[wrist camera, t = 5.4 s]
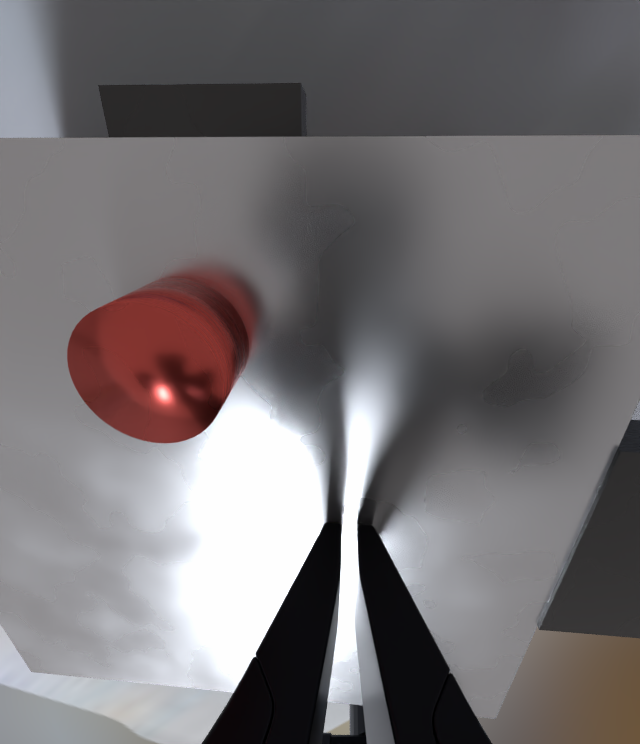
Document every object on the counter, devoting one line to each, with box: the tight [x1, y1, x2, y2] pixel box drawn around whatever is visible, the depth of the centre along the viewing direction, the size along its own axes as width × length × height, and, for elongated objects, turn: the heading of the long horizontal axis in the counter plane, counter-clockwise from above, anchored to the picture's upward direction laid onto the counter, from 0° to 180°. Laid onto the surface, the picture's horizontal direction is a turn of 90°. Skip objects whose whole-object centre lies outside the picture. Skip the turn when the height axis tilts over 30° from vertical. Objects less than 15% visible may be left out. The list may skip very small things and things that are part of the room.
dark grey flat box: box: [98, 83, 306, 138], centre depth 14 cm, size 19×16×8 cm
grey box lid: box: [0, 135, 640, 719], centre depth 9 cm, size 17×20×3 cm
